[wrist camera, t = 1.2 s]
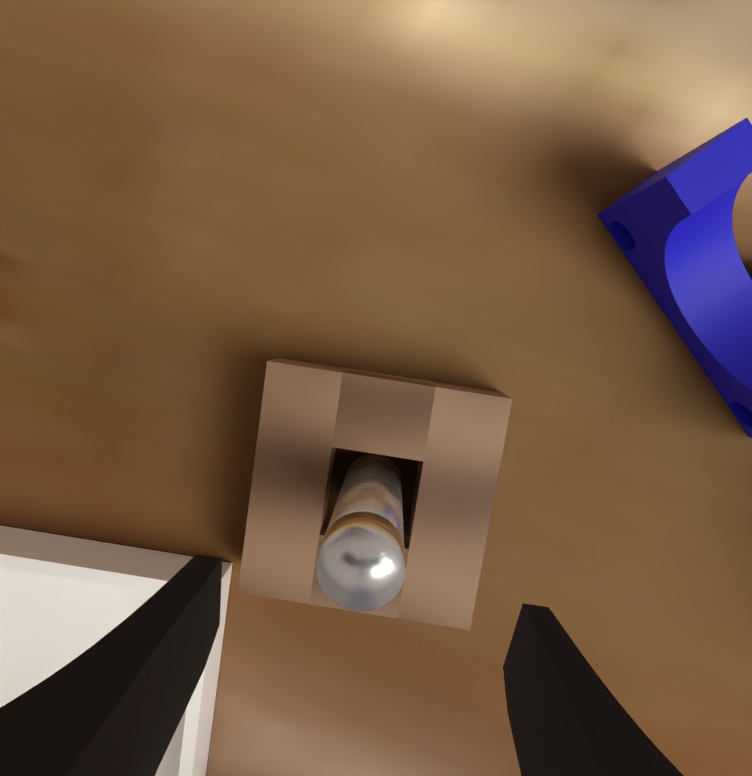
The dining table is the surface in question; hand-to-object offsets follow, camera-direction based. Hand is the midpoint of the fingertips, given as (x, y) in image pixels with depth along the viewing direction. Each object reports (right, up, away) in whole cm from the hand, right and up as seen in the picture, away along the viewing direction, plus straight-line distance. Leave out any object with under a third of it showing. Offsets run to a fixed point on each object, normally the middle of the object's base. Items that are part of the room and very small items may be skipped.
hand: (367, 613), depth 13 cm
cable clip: (+15, +9, +11) cm, 21 cm away
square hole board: (0, +1, +12) cm, 12 cm away
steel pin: (0, +1, +12) cm, 12 cm away
